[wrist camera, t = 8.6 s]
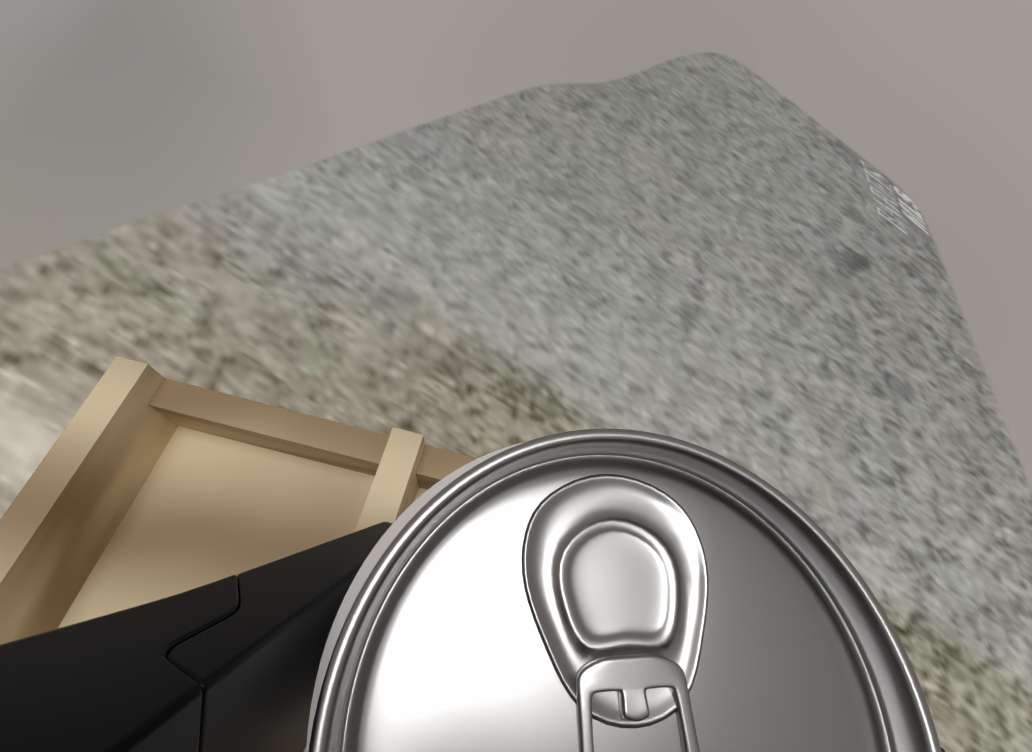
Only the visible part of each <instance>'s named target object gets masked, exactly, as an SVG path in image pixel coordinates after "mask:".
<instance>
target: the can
mask: <svg viewBox="0 0 1032 752" xmlns="http://www.w3.org/2000/svg"><path fill="white" fill-rule="evenodd" d="M306 752H942V751H941V747H940V743H939V740H938V736H937V733H936V729H935V726H934V723H933V720H932V717H931V714H930V711H929V708H928V705H927V702H926V699H925V697H924V694H923V691H922V689H921V686H920V684H919V681H918V679H917V676H916V674H915V672H914V669H913V667H912V665H911V662H910V660H909V658H908V656H907V654H906V652H905V650H904V647H903V645H902V643H901V641H900V640H899V638H898V636H897V634H896V632H895V630H894V628H893V626H892V624H891V623H890V621H889V619H888V617H887V616H886V614H885V612H884V611H883V609H882V607H881V606H880V604H879V602H878V601H877V599H876V598H875V596H874V595H873V593H872V591H871V590H870V588H869V587H868V585H867V584H866V583H865V581H864V580H863V578H862V577H861V575H860V574H859V573H858V571H857V570H856V569H855V567H854V566H853V565H852V563H851V562H850V561H849V560H848V559H847V557H846V556H845V555H844V554H843V552H842V551H841V550H840V549H839V548H838V546H837V545H836V544H835V543H834V542H833V541H832V540H831V538H830V537H829V536H828V535H827V534H826V533H825V532H824V531H823V530H822V529H821V528H820V527H819V526H818V525H817V524H816V523H815V522H814V521H813V520H812V519H811V518H810V517H809V516H808V515H807V514H806V513H805V512H804V511H802V510H801V509H800V508H799V507H798V506H797V505H796V504H794V503H793V502H792V501H791V500H790V499H788V498H787V497H786V496H785V495H783V494H782V493H781V492H780V491H778V490H777V489H776V488H774V487H773V486H771V485H770V484H769V483H767V482H766V481H764V480H763V479H761V478H760V477H758V476H757V475H755V474H754V473H752V472H750V471H749V470H747V469H746V468H744V467H742V466H740V465H738V464H737V463H735V462H733V461H731V460H729V459H727V458H725V457H723V456H721V455H719V454H716V453H714V452H712V451H710V450H707V449H705V448H702V447H700V446H697V445H694V444H691V443H689V442H686V441H682V440H679V439H676V438H672V437H668V436H664V435H659V434H655V433H649V432H643V431H635V430H625V429H588V430H577V431H569V432H564V433H558V434H553V435H549V436H545V437H541V438H538V439H534V440H531V441H528V442H524V443H520V444H516V445H512V446H509V447H506V448H503V449H500V450H497V451H494V452H492V453H489V454H487V455H484V456H482V457H480V458H478V459H476V460H474V461H472V462H470V463H468V464H466V465H464V466H462V467H461V468H459V469H457V470H455V471H454V472H452V473H451V474H449V475H447V476H446V477H444V478H443V479H442V480H440V481H439V482H437V483H436V484H435V485H433V486H432V487H431V488H430V489H428V490H427V491H426V492H425V493H423V494H422V495H421V496H420V497H419V498H417V499H416V500H415V501H414V502H413V503H412V504H411V505H410V506H409V507H408V508H407V509H406V510H405V511H404V512H403V513H402V514H401V515H400V516H399V517H398V518H397V519H396V520H395V522H394V523H393V524H392V525H391V526H390V527H389V528H388V530H387V531H386V532H385V533H384V535H383V536H382V537H381V538H380V540H379V541H378V542H377V544H376V545H375V546H374V548H373V549H372V551H371V552H370V554H369V555H368V557H367V558H366V560H365V561H364V563H363V564H362V566H361V568H360V569H359V571H358V573H357V574H356V576H355V578H354V580H353V582H352V583H351V585H350V587H349V589H348V591H347V593H346V595H345V597H344V599H343V601H342V604H341V606H340V608H339V610H338V612H337V615H336V617H335V620H334V622H333V625H332V627H331V630H330V633H329V636H328V639H327V641H326V645H325V648H324V651H323V654H322V658H321V661H320V665H319V669H318V673H317V677H316V682H315V686H314V691H313V697H312V702H311V708H310V715H309V723H308V733H307V744H306Z"/></svg>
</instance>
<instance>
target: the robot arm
mask: <svg viewBox="0 0 1032 752" xmlns="http://www.w3.org/2000/svg"><path fill="white" fill-rule="evenodd" d="M392 524H393V523H389V522H381V523H378V524H376V525H373V526H370V527H367V528H364V529H362V530H359V531H356V532H353V533H351V534H348V535H345V536H342V537H340V538H337V539H334V540H331V541H328V542H326V543H323V544H320V545H317V546H315V547H312V548H309V549H306V550H303V551H301V552H298V553H295V554H292V555H290V556H287V557H284V558H281V559H278V560H276V561H273V562H270V563H267V564H265V565H262V566H259V567H256V568H253V569H251V570H248V571H245V572H242V573H240V574H238V575H237V576H236V575H232V576H229V577H226V578H223V579H221V580H218V581H215V582H212V583H209V584H206V585H203V586H200V587H197V588H194V589H191V590H188V591H185V592H182V593H179V594H176V595H173V596H170V597H166V598H163V599H160V600H156V601H153V602H149V603H146V604H143V605H139V606H136V607H132V608H129V609H125V610H122V611H118V612H115V613H111V614H108V615H104V616H100V617H97V618H93V619H90V620H86V621H83V622H79V623H76V624H72V625H69V626H65V627H61V628H58V629H54V630H51V631H47V632H44V633H40V634H37V635H33V636H30V637H26V638H22V639H19V640H15V641H12V642H8V643H5V644H1V645H0V752H303V751H304V750H305V748H306V744H307V733H308V723H309V715H310V708H311V702H312V697H313V691H314V686H315V682H316V677H317V673H318V669H319V665H320V661H321V658H322V654H323V651H324V648H325V645H326V641H327V639H328V636H329V633H330V630H331V627H332V625H333V622H334V620H335V617H336V615H337V612H338V610H339V608H340V606H341V604H342V601H343V599H344V597H345V595H346V593H347V591H348V589H349V587H350V585H351V583H352V582H353V580H354V578H355V576H356V574H357V573H358V571H359V569H360V568H361V566H362V564H363V563H364V561H365V560H366V558H367V557H368V555H369V554H370V552H371V551H372V549H373V548H374V546H375V545H376V544H377V542H378V541H379V540H380V538H381V537H382V536H383V535H384V533H385V532H386V531H387V530H388V528H389V527H390V526H391V525H392ZM941 751H942V752H945V750H944V749H943V748H941Z"/></svg>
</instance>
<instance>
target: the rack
mask: <svg viewBox="0 0 1032 752" xmlns="http://www.w3.org/2000/svg"><path fill="white" fill-rule="evenodd" d="M476 459H477V458H474V457H470V456H466V455H462V454H458V453H454V452H450V451H446V450H442V449H439V448H435V447H431V446H427V445H425V442H424V436H423V435H421V434H417V433H413V432H409V431H405V430H402V429H398V428H394V427H393V429H392V431H391V434H390V436H388V435H384V434H380V433H376V432H372V431H368V430H365V429H361V428H357V427H353V426H349V425H345V424H341V423H337V422H333V421H330V420H326V419H322V418H318V417H314V416H310V415H306V414H302V413H298V412H295V411H291V410H287V409H283V408H279V407H275V406H271V405H267V404H263V403H260V402H256V401H252V400H248V399H244V398H240V397H236V396H232V395H228V394H224V393H221V392H217V391H213V390H209V389H205V388H201V387H197V386H193V385H189V384H186V383H182V382H178V381H174V380H170V379H166V378H164V377H163V376H161V375H160V374H159V373H158V372H157V371H155V370H154V369H153V368H152V367H151V366H149V365H148V364H145V363H141V362H137V361H133V360H129V359H125V358H122V357H118V356H117V357H116V358H115V360H114V361H113V363H112V364H111V365H110V367H109V368H108V370H107V371H106V372H105V374H104V375H103V377H102V378H101V379H100V381H99V382H98V384H97V385H96V386H95V388H94V389H93V391H92V392H91V393H90V395H89V396H88V398H87V399H86V400H85V402H84V403H83V405H82V406H81V407H80V409H79V410H78V412H77V413H76V414H75V416H74V417H73V419H72V420H71V421H70V423H69V424H68V426H67V427H66V428H65V430H64V431H63V433H62V434H61V435H60V437H59V438H58V440H57V441H56V442H55V444H54V445H53V447H52V448H51V449H50V451H49V452H48V454H47V455H46V456H45V458H44V459H43V461H42V462H41V463H40V465H39V466H38V468H37V469H36V470H35V472H34V473H33V475H32V476H31V477H30V479H29V480H28V482H27V483H26V484H25V486H24V487H23V489H22V490H21V491H20V493H19V494H18V496H17V497H16V498H15V500H14V501H13V503H12V504H11V505H10V507H9V508H8V510H7V511H6V512H5V514H4V515H3V517H2V518H1V519H0V645H1V644H5V643H8V642H12V641H15V640H19V639H22V638H26V637H30V636H33V635H37V634H40V633H44V632H47V631H51V630H54V629H58V628H61V627H65V626H69V625H72V624H76V623H79V622H83V621H86V620H90V619H93V618H97V617H100V616H104V615H108V614H111V613H115V612H118V611H122V610H125V609H129V608H132V607H136V606H139V605H143V604H146V603H149V602H153V601H156V600H160V599H163V598H166V597H170V596H173V595H176V594H179V593H182V592H185V591H188V590H191V589H194V588H197V587H200V586H203V585H206V584H209V583H212V582H215V581H218V580H221V579H223V578H226V577H229V576H232V575H236V576H237V575H238V574H240V573H242V572H245V571H248V570H251V569H253V568H256V567H259V566H262V565H265V564H267V563H270V562H273V561H276V560H278V559H281V558H284V557H287V556H290V555H292V554H295V553H298V552H301V551H303V550H306V549H309V548H312V547H315V546H317V545H320V544H323V543H326V542H328V541H331V540H334V539H337V538H340V537H342V536H345V535H348V534H351V533H353V532H356V531H359V530H362V529H364V528H367V527H370V526H373V525H376V524H378V523H381V522H389V523H394V522H395V520H396V519H397V518H398V517H399V516H400V515H401V514H402V513H403V512H404V511H405V510H406V509H407V508H408V507H409V506H410V505H411V504H412V503H413V502H414V501H415V500H416V499H417V498H419V497H420V496H421V495H422V494H423V493H425V492H426V491H427V490H428V489H430V488H431V487H432V486H433V485H435V484H436V483H437V482H439V481H440V480H442V479H443V478H444V477H446V476H447V475H449V474H451V473H452V472H454V471H455V470H457V469H459V468H461V467H462V466H464V465H466V464H468V463H470V462H472V461H474V460H476ZM303 752H306V748H305V750H304V751H303Z"/></svg>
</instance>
